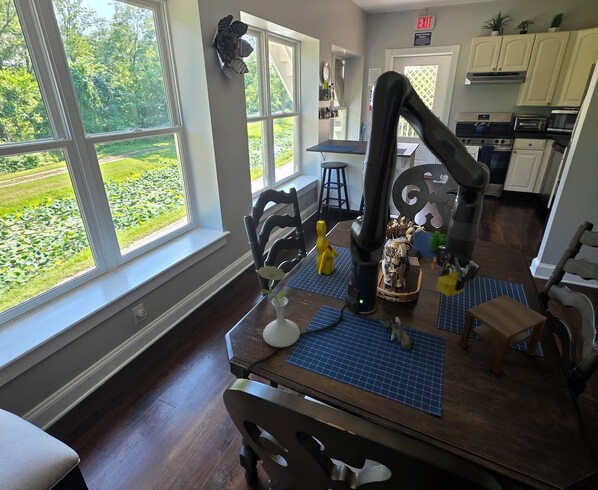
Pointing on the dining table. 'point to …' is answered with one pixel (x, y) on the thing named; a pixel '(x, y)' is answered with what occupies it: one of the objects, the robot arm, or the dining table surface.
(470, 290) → the dining table surface
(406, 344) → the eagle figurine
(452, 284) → the rubber duck
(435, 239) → the bell pepper
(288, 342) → the flower in vase
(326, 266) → the figure statuette
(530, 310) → the wooden side table
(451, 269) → the decorative duck model
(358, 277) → the robot arm
